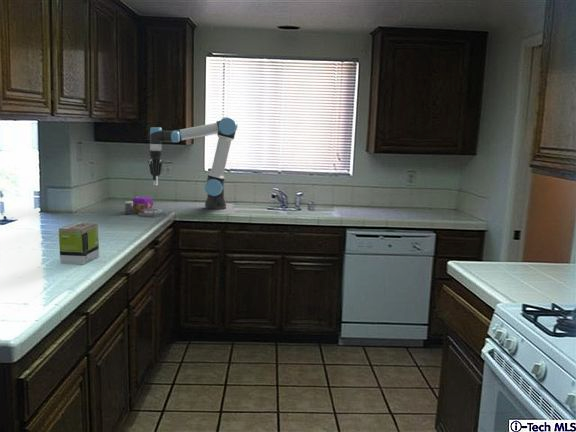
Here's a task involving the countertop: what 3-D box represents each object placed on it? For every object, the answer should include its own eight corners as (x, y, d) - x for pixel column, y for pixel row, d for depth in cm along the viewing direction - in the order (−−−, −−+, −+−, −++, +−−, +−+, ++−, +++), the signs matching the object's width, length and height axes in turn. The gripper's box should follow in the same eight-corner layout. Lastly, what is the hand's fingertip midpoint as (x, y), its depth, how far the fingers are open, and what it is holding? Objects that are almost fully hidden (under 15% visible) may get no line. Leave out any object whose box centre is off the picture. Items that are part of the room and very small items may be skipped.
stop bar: (145, 213, 351) (145, 204, 350) (143, 213, 349) (143, 204, 348) (129, 211, 356) (129, 202, 355) (127, 212, 354) (127, 203, 353)
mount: (165, 214, 349) (165, 209, 348) (154, 217, 338) (154, 211, 337) (150, 213, 353) (150, 207, 353) (138, 215, 342) (138, 210, 342)
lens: (134, 214, 347) (134, 201, 346) (129, 215, 343) (129, 202, 342) (128, 213, 349) (128, 201, 348) (123, 214, 345) (123, 201, 344)
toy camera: (155, 210, 365) (155, 195, 364) (147, 213, 352) (146, 198, 350) (140, 209, 367) (140, 195, 365) (131, 212, 353) (131, 197, 352)
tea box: (77, 255, 232) (76, 221, 230) (99, 256, 231) (99, 222, 229) (59, 264, 217) (58, 227, 215) (83, 265, 216) (82, 228, 214)
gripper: (157, 149, 373) (157, 184, 377) (144, 150, 362) (144, 185, 365) (166, 150, 370) (166, 185, 374) (153, 150, 358) (153, 186, 362)
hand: (155, 185), depth 369 cm, fingers closed
